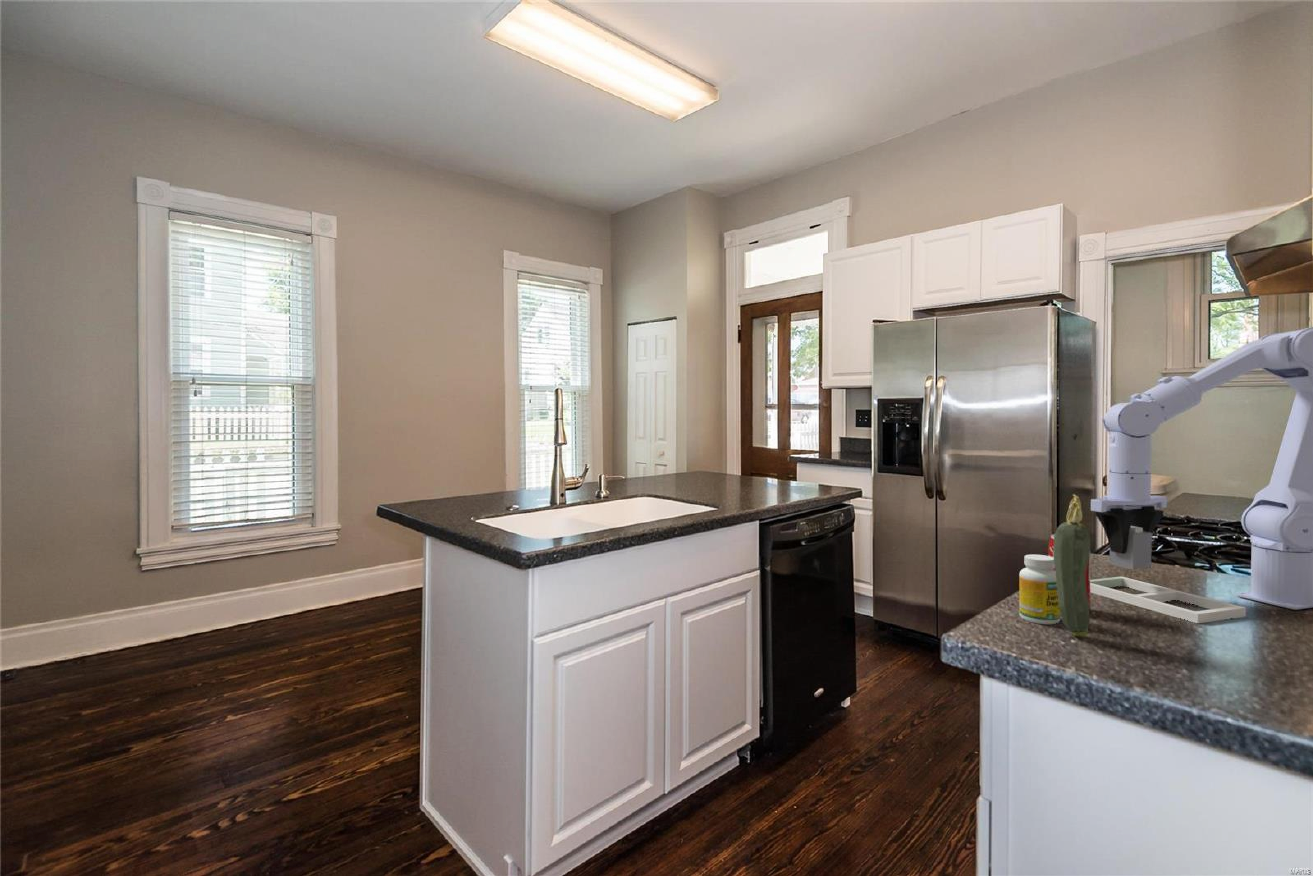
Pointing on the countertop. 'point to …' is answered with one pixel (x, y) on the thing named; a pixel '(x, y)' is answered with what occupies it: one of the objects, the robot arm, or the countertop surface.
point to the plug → (1134, 551)
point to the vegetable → (1072, 569)
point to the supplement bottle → (1038, 590)
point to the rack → (1163, 594)
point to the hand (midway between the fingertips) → (1128, 551)
